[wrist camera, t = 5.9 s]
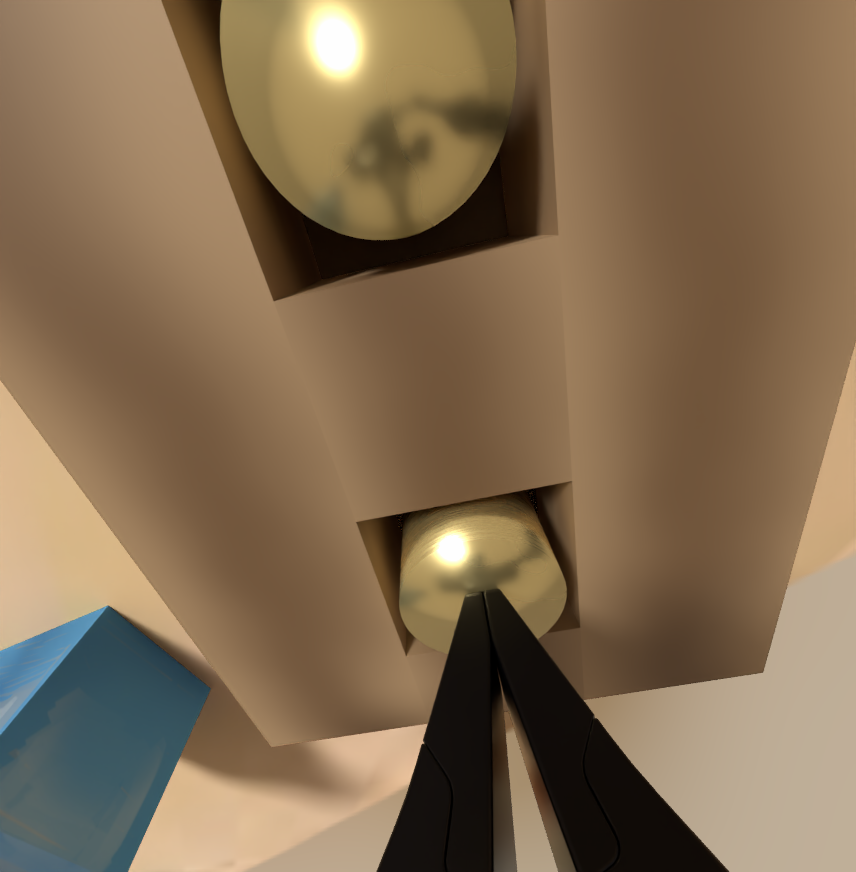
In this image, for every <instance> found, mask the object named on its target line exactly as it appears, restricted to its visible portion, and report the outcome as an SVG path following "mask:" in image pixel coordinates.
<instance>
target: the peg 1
mask: <svg viewBox="0 0 856 872" xmlns="http://www.w3.org/2000/svg"><path fill="white" fill-rule="evenodd" d="M220 46H221V58H222V68H223V73H224V78H225V84H226V89H227V93H228V96H229V100H230V103H231V107H232V110H233V114H234V116H235V119H236V121H237V124H238V126H239V129H240V131H241V134H242V136H243V138H244V140H245V142H246V144H247V146H248V148H249V150H250V152H251V154H252V156H253V157H254V159H255V160H256V162H257V163H258V165H259V167H260V168H261V170H262V171H263V173H264V174H265V176H266V177H267V178H268V179H269V180H270V182H271V183H272V184H273V185H274V187H275V188H276V189H277V190H278V191H279V192H280V193H281V194H282V195H283V196H284V197H285V198H286V199H287V200H288V201H289V202H290V203H291V204H292V205H293V206H294V207H296V208H297V209H298V210H299V211H301V212H302V213H303V214H305V215H306V216H307V217H309V218H310V219H312V220H314V221H315V222H317V223H319V224H321V225H322V226H324V227H326V228H329V229H331V230H333V231H336V232H338V233H340V234H344V235H348V236H351V237H355V238H361V239H369V240H392V239H401V238H407V237H411V236H414V235H417V234H420V233H422V232H424V231H426V230H428V229H430V228H432V227H433V226H435V225H437V224H438V223H440V222H441V221H443V220H444V219H446V218H447V217H449V216H450V215H451V214H452V213H454V212H455V211H456V210H457V209H458V208H459V207H460V206H461V205H463V204H464V203H465V202H466V200H467V199H468V198H469V197H470V196H471V195H472V194H473V192H474V191H475V190H476V189H477V187H478V186H479V185H480V183H481V182H482V180H483V179H484V177H485V176H486V174H487V173H488V171H489V169H490V167H491V165H492V163H493V161H494V159H495V158H496V156H497V154H498V151H499V148H500V146H501V143H502V141H503V138H504V136H505V133H506V129H507V125H508V122H509V118H510V115H511V110H512V104H513V98H514V92H515V82H516V67H517V59H516V36H515V29H514V21H513V14H512V9H511V5H510V1H509V0H222V5H221V13H220Z"/></svg>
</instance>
